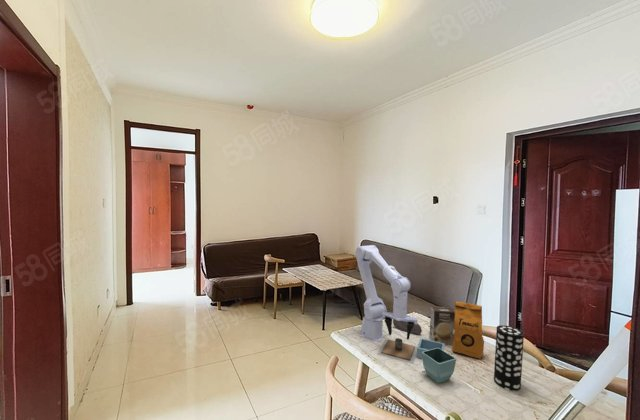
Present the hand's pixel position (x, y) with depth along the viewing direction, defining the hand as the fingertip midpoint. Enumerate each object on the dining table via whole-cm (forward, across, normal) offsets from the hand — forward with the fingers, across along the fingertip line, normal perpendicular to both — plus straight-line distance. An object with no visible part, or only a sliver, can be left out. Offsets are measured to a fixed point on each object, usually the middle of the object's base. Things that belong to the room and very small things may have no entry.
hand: (399, 336), depth 127 cm
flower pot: (+7, +17, -12) cm, 22 cm away
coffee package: (+7, +27, +14) cm, 31 cm away
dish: (+7, +13, +3) cm, 15 cm away
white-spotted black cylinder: (+7, +40, -3) cm, 41 cm away
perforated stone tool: (+7, 0, +22) cm, 23 cm away
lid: (+6, 0, 0) cm, 6 cm away
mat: (+7, 0, 0) cm, 7 cm away
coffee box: (+7, +16, +18) cm, 25 cm away
